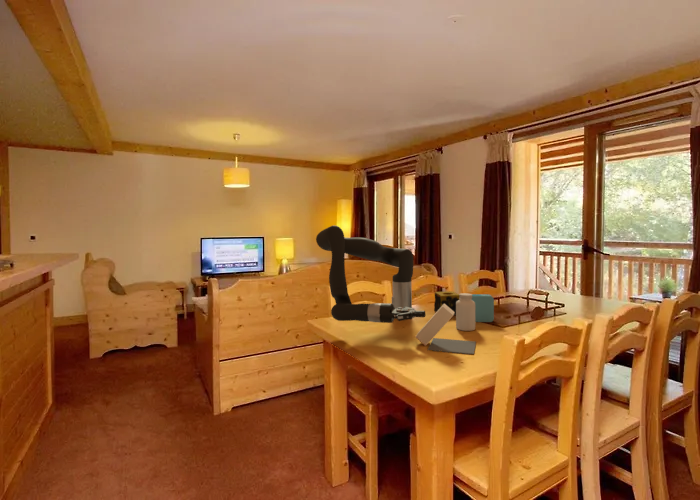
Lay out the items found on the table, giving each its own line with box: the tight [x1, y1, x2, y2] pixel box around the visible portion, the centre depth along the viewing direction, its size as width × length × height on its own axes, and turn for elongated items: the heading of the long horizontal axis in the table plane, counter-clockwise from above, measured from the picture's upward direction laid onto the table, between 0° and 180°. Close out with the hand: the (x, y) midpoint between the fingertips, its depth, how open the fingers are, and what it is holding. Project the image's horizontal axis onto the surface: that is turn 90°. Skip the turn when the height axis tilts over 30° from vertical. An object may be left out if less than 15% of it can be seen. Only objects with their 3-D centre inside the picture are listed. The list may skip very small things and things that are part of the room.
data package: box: [471, 293, 495, 323], centre depth 177 cm, size 12×4×12 cm, turn 81°
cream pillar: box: [415, 304, 455, 347], centre depth 144 cm, size 5×5×16 cm
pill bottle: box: [455, 292, 476, 332], centre depth 164 cm, size 8×8×15 cm
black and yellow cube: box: [433, 290, 460, 316], centre depth 193 cm, size 10×10×10 cm
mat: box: [427, 337, 477, 355], centre depth 142 cm, size 16×14×1 cm
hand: (425, 314), depth 145 cm, fingers closed
